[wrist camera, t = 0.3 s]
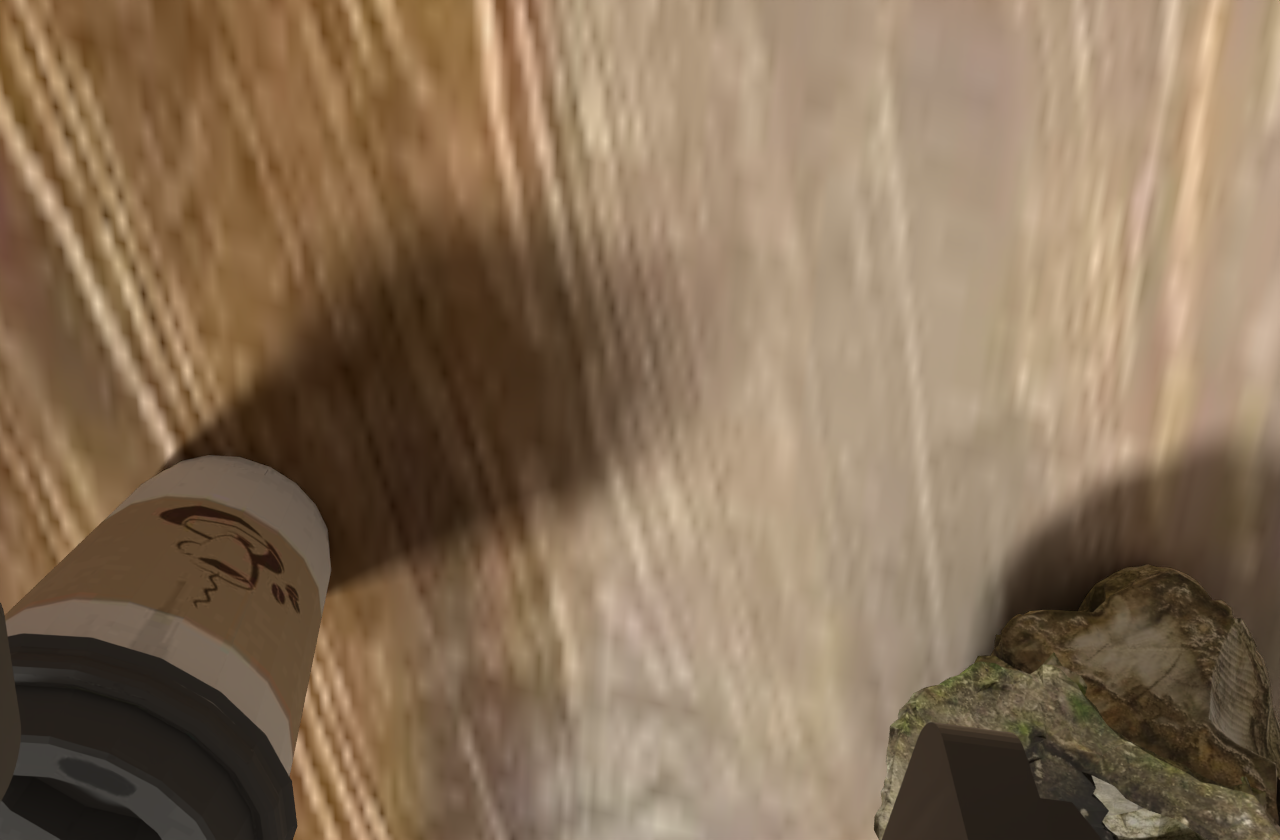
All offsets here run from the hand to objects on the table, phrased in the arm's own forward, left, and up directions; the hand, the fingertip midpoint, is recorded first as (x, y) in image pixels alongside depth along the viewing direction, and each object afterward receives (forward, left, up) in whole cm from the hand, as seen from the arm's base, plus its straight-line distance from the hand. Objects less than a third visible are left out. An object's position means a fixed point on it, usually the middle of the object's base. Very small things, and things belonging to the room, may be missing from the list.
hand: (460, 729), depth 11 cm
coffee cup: (+20, -11, -29) cm, 37 cm away
